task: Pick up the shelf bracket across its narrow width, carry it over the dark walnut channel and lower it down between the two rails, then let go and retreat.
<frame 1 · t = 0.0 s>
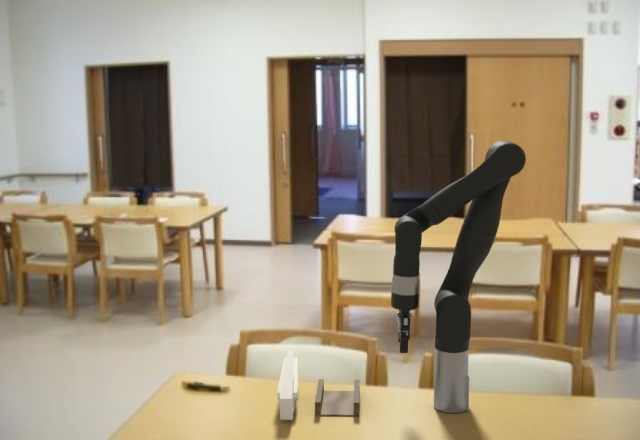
hand: (402, 347, 198), 17 cm above the table, tool pointing down, fingers open, 8 cm apart
walnut channel: (338, 403, 203), on the table
shelf bracket: (289, 405, 204), on the table
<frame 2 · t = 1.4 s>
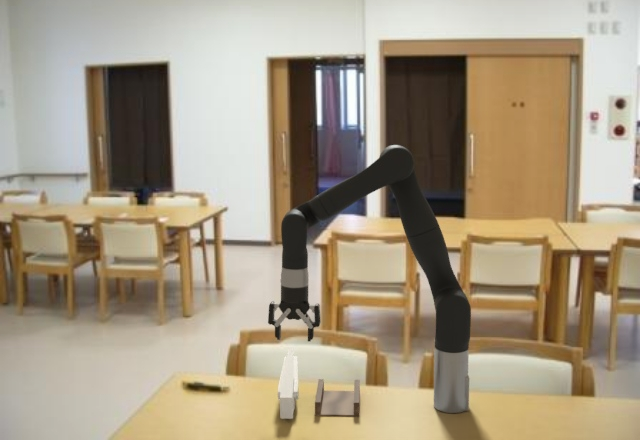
hand: (294, 339, 200), 19 cm above the table, tool pointing down, fingers open, 8 cm apart
nothing on the table moved.
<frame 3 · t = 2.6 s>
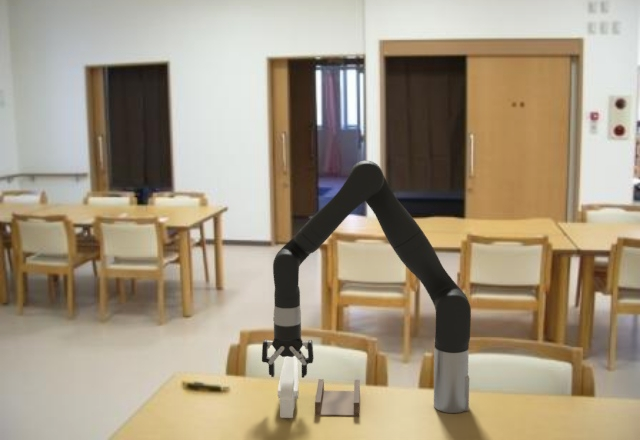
hand: (287, 376, 202), 8 cm above the table, tool pointing down, fingers open, 8 cm apart
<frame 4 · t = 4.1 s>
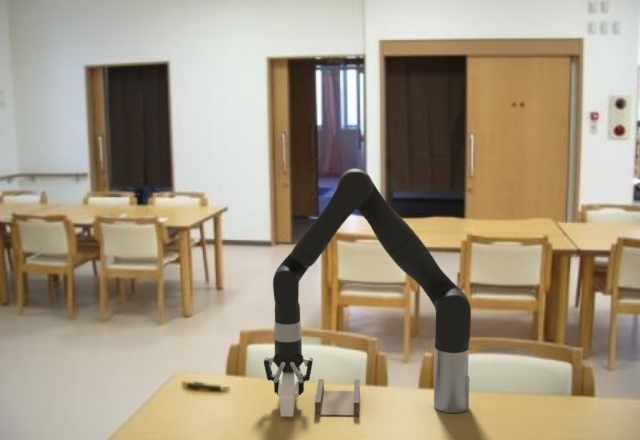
hand: (289, 393, 203), 3 cm above the table, tool pointing down, fingers closed on shelf bracket, 5 cm apart
shelf bracket: (289, 402, 205), on the table, touching gripper
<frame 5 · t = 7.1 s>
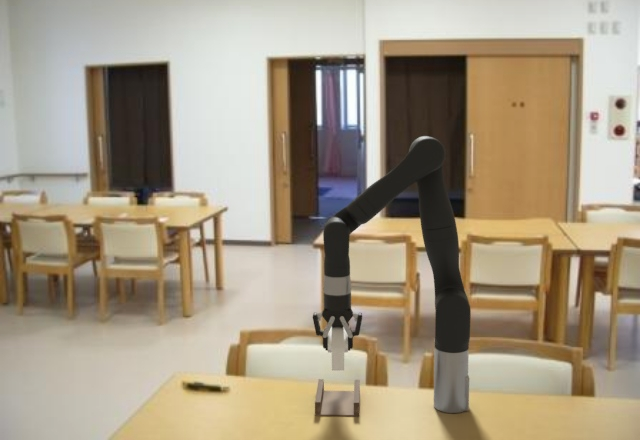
hand: (337, 349, 200), 16 cm above the table, tool pointing down, fingers closed on shelf bracket, 5 cm apart
shelf bracket: (338, 358, 202), point 13 cm above the table, touching gripper
when the fingers open (4 cm above the table, at t = 10.0 s): shelf bracket stays where it is, resting on walnut channel.
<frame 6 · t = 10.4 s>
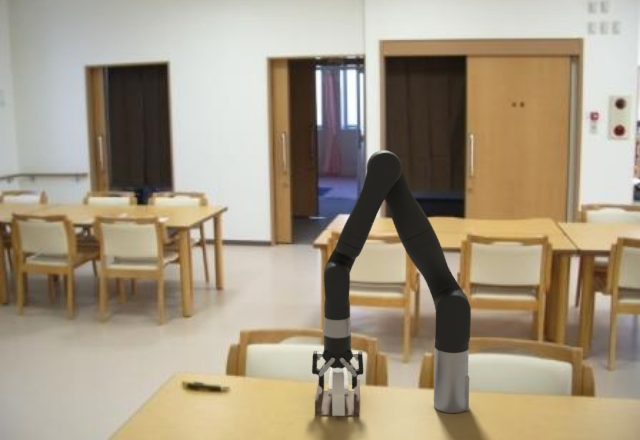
hand: (337, 387, 202), 5 cm above the table, tool pointing down, fingers open, 8 cm apart
shelf bracket: (338, 401, 204), resting on walnut channel
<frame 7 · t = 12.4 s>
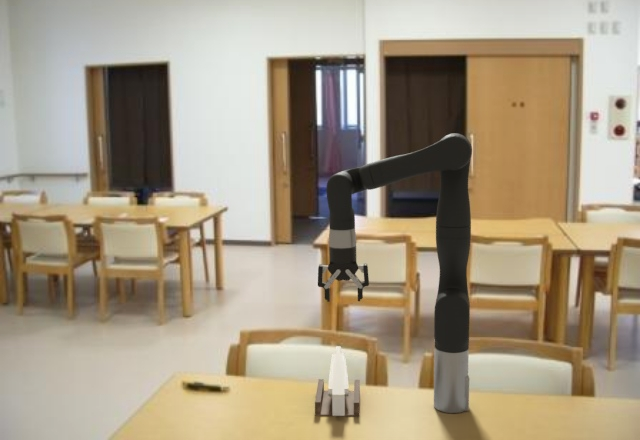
hand: (343, 300, 202), 29 cm above the table, tool pointing down, fingers open, 8 cm apart
nothing on the table moved.
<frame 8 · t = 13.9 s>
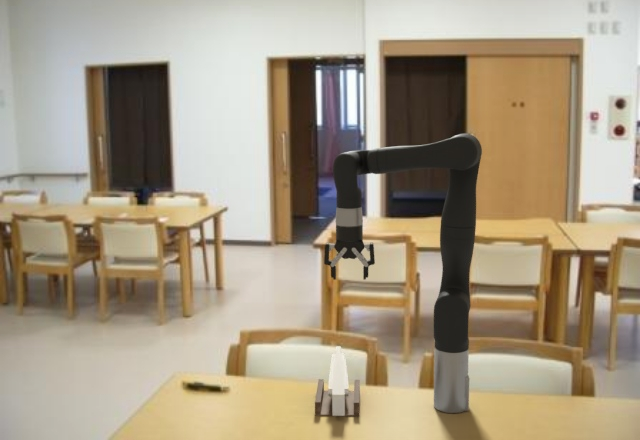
hand: (349, 279, 205), 34 cm above the table, tool pointing down, fingers open, 8 cm apart
nothing on the table moved.
at the end: shelf bracket inside the target area on the walnut channel (1.9 cm from its centre), point 0.2 cm above the walnut channel's base; the gripper is holding nothing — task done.
